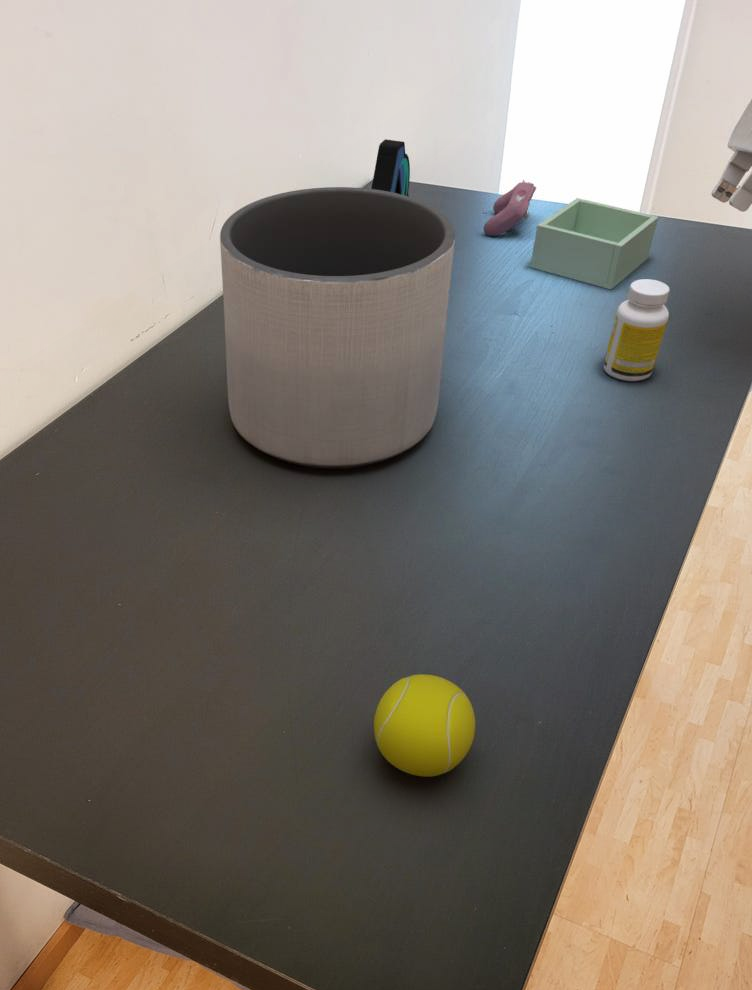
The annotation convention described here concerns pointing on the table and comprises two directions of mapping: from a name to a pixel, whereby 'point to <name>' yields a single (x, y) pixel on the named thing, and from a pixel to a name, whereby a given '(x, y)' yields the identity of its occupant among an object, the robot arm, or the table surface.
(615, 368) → the supplement bottle
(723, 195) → the robot arm
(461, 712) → the tennis ball
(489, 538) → the table surface
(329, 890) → the table surface
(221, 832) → the table surface
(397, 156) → the decorative sign
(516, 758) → the table surface
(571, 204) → the bin
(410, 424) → the planter
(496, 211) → the mauve lumpy piece
